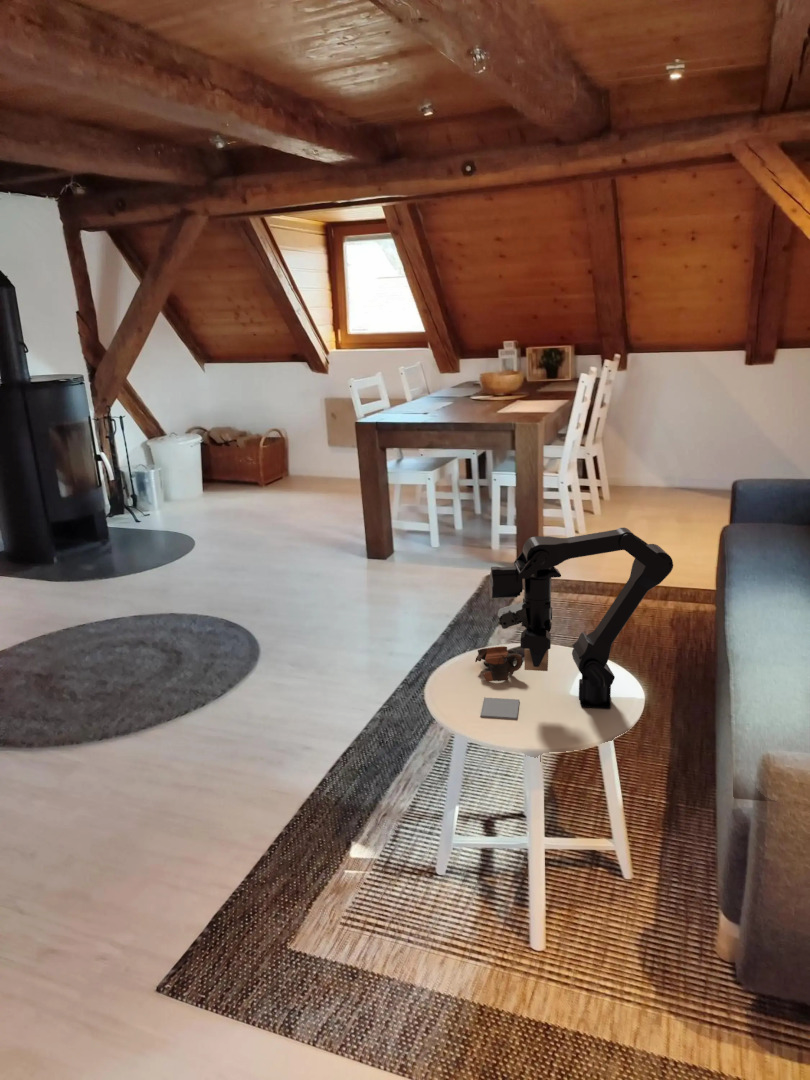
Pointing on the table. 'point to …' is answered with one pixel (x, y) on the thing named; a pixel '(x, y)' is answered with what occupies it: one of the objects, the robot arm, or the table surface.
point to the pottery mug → (499, 662)
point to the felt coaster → (500, 708)
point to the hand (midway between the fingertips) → (536, 661)
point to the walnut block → (529, 662)
